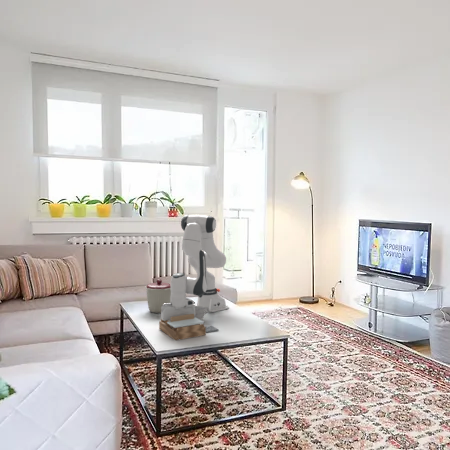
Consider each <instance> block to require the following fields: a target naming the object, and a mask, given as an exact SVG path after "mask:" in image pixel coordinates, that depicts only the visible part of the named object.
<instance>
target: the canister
mask: <svg viewBox="0 0 450 450" xmlns="http://www.w3.org/2000/svg"><path fill="white" fill-rule="evenodd" d="M144 288H145V289H146V300H147V306H148V310H149V312H151V313H153V314H154V313H155V314H161V306H162V305H163V306H164V304H168V303H171V283H168V282H163V281H162V279H160V278H159V279H156V282H151V283H149V284H147V285H145V286H144Z"/></svg>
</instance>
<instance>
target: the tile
mask: <svg viewBox="0 0 450 450" xmlns="http://www.w3.org/2000/svg"><path fill="white" fill-rule="evenodd" d="M205 327H206V333H207V334H208V333H214V332H219V329H218V328H217V327H215V326H213V325H208V326H205Z"/></svg>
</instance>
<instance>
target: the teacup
mask: <svg viewBox="0 0 450 450" xmlns="http://www.w3.org/2000/svg"><path fill="white" fill-rule="evenodd" d="M194 306H195V316H194V318H198V319H200V320H202V321H203V318H204V317H205V316H206V315H207V314H208V313H209V312H208V311H209V309H208V307H203V306H197V305H194ZM205 308H207V311H204V309H205Z"/></svg>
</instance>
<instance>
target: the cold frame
mask: <svg viewBox="0 0 450 450" xmlns="http://www.w3.org/2000/svg"><path fill="white" fill-rule="evenodd" d="M167 322H168V320H167V321H163V320H162V319H161V318H160V320H159V323H158V328H159V329H158V330H160V331H161V330H162V331H161V332H163V333H165V334H166V335H167V336H169V337H170V338H171V339H173V340H175V341H178V340H179V339H180V340H185V339H192V338H196V337H200V336H206V327H207V326H205V324H204V323H202V324H196V325H190V326H184V327H181V328H177V331H176V330H174V327H170V325H169V324H168V323H167Z"/></svg>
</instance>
